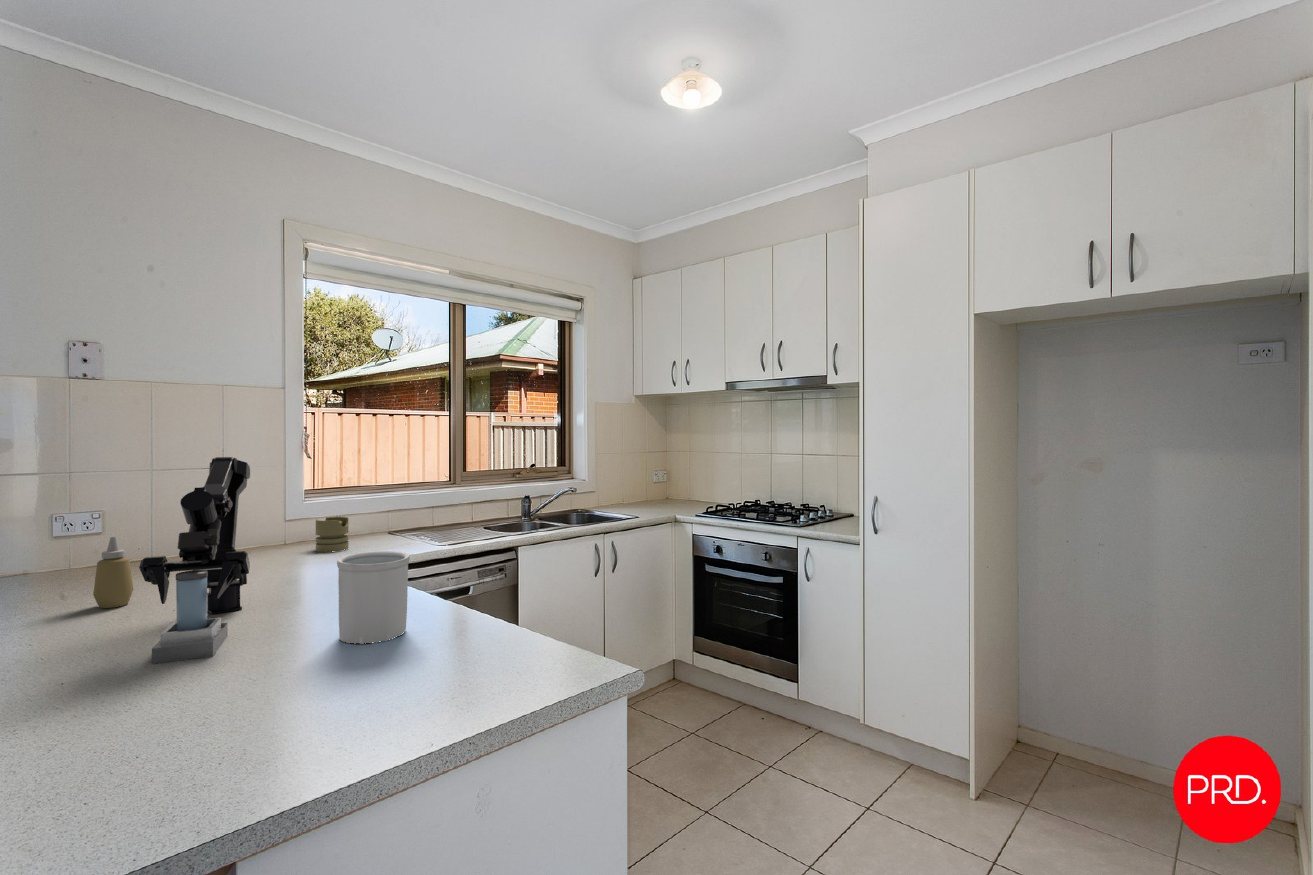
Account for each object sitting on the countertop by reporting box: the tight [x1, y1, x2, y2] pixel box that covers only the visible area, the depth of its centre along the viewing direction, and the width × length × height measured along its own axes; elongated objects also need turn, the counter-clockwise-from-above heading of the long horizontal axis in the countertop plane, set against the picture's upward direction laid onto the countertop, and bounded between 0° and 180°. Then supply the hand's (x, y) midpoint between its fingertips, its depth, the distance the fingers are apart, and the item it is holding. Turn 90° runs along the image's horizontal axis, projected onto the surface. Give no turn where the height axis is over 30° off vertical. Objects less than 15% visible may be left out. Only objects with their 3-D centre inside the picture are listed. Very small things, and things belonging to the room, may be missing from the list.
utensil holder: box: [336, 550, 410, 645], centre depth 141 cm, size 15×15×18 cm
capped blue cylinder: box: [175, 570, 208, 631], centre depth 132 cm, size 5×5×13 cm
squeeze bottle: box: [92, 536, 134, 609], centre depth 165 cm, size 8×8×18 cm
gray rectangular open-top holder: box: [151, 617, 229, 665], centre depth 132 cm, size 14×10×5 cm
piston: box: [315, 516, 350, 553], centre depth 244 cm, size 11×12×11 cm
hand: (190, 600), depth 131 cm, fingers open, 9 cm apart
